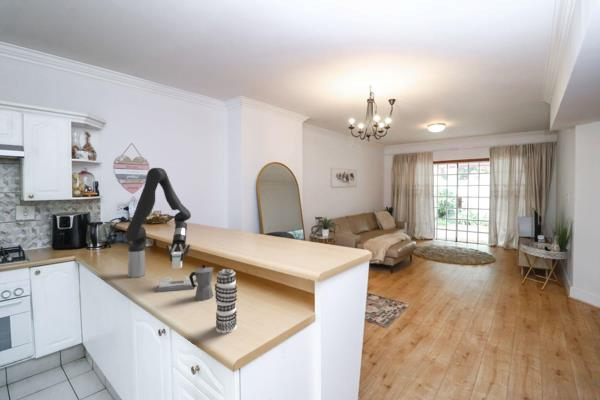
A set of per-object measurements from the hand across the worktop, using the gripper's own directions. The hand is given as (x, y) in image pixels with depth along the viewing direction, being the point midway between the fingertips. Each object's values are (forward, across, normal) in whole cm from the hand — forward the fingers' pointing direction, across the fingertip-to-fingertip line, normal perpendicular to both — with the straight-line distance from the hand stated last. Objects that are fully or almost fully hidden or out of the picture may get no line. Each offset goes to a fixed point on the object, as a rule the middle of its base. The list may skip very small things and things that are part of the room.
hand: (176, 260), depth 158 cm
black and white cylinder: (+49, +29, -26) cm, 63 cm away
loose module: (+2, 0, +5) cm, 5 cm away
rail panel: (+10, 0, +13) cm, 17 cm away
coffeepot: (+25, +16, -1) cm, 29 cm away
